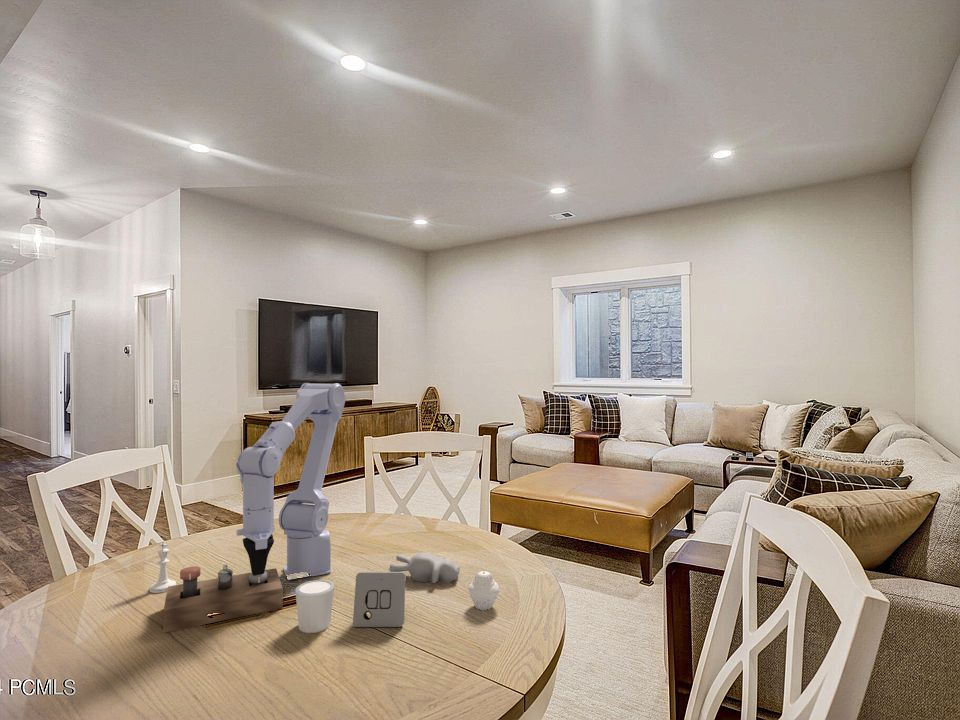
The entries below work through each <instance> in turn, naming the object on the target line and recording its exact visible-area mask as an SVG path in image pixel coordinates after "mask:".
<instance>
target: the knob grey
mask: <svg viewBox="0 0 960 720" xmlns="http://www.w3.org/2000/svg"><path fill="white" fill-rule="evenodd" d="M249 573H250V574H249V582H251V583H252V586H254V585H259V584H265V580H267V571H265V572H264V574H260V575H255V576H253V575H252V571H251V572H249Z"/></svg>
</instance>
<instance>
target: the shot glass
mask: <svg viewBox="0 0 960 720" xmlns="http://www.w3.org/2000/svg"><path fill="white" fill-rule="evenodd" d="M334 589H335V583H334V582H332V581H330V580H328V579H327V580H326V579H315V580H309V581H305V582H303V583H301V584H298V586H296V587H295V592H294V593H295V600H296V609H297V610H296V613H297V623H298V624H297V625H298V629H299V631H300V632H302V633H306V634H309V633H310V634H313V633H319V632H322V631H325V630H326V629H328V628H329V627H330V626H331V621H332V612H333V601H334V594H335V593H334V592H335V590H334Z"/></svg>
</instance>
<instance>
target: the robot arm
mask: <svg viewBox="0 0 960 720" xmlns="http://www.w3.org/2000/svg"><path fill="white" fill-rule="evenodd" d="M346 399H347V397H346V394H345V391H344V388H343V386H342V385H341V384H340V383H337V382H336V383H335V382H334V383H310V382H304V383H303V384H301V386H300V388H298V390H297V391H296V400H295V402H294V403H293V404H292V405H291V407H290V408H289V410H288V412H286V414H285V416H284V417H283V418H282V420H280V421H274V422H271V423H270V425H268V428H267V430H266V431H264V433H263V434H262V435H261V436H260V437H259V439H258V440H257V441H256V442H255V443H254V445H252V446H249V447H246V448H244V450H242V451H241V452H240V454H239V456H238V458H237V462H236V463H235V468H236V470H237V472H238V474H239V477H240V479H239V480H240V483H241V484H242V528H240V529H237V530H236V531H235V532H236V536H237V537H239V536H243V537H244V538H242V545H243V547H244V550H246V552H247V556H248V559H249V566H250V570H251V572H252V575H253V576H255V575H260V574H264V572H265V570H266V567H267V562H268V558H269V555H270V552H271V549H272V547H273V545H274V543H275V539H274V535H273V533H274V532H275V530H276V529H275V527H276V526H275V524H274V523H275V521H274V516H275V515H274V513H275V511H274V507H275V506H274V505H275V504H274V501H275V499H274V497H275V496H274V495H275V494H274V491H275V489H274V486H275V484H274V483H275V478H274V476H275V474H277V473H278V471H279V470H280V467H281V463H282V460H283V457H284V455H283V454H285V452H286V451H287V449H289V447H290V445H292V443H293V441H294V440H295V439H296V429H297V428H299V427H300V426H301V425H302V424H303V422H304V421H305V420H307V418H308V419H309V420H310V421H312V422H313V424H314V427H313V430H312V433H311V438H310V441H309V442H310V443H309V445H308V448H307V449H308V450H307V453H306V457H305V460H304V465H303V468H302V473H301V475H300V481H299V484H298V487H297V489H296V490H294V491H292V492H291V493H290V494H288V495H287V496H286V498H285V502H284V504H283V506H282V507H281V509H280V510H279V513H278V525H279V527H280V528H281V529H282V530H283V534H284V535H286V565H284V566H283V568H282V569H283V572H284V574H285V576H286V575H290V574H294V573H300V572H307V573H308V574H310V575H311V576H312V577H315V576H321V575H327V574H331V573H332V570H331V547H332V546H331V536H330V532H329V530H328V529H325V528H326V527H327V526H328V522H329V506H330V501H329V500H328V499H327V496H325V495H324V494H323V493H322V489H323V486H324V481H325V476H326V472H327V468H328V465H329V460H330V457H331V451H332V448H333V443H334V440H335V435H336V432H337V426H338V423H339V421H340V420H342V415H343V411H344V407H345V403H346Z"/></svg>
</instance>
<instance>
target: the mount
mask: <svg viewBox="0 0 960 720" xmlns="http://www.w3.org/2000/svg"><path fill="white" fill-rule="evenodd" d="M265 571H267V580H265V584H259V585H254V586H252V583H251V582H249V574H250V573H251V572H247V573H245V572H244V573H240V574H235V575H233V576H232V587H231V588H230V589H227V590H218V577H216V578H210V579H205V580H200V581H199V580H197V596H193V597H188V598H183V583H181V584H176V585H174V586H169V587H168V589H167V591H166V596H165V601H164V605H163V617H162V619H163V621H162V622H163V630H162V631H163V634H165V633H169V632H174V631H179V630H183V629H188V628H193V627H198V626H199V627H200V626H202V625H209V624H212V623H218V622H221V621H222V622H223V621H227V620H232V619H233V620H234V619H238V618H241V617H247V616H251V615H252V616H253V615H257V614H261V613H262V614H263V613H266V612H270V611H276V610H282V609H283V605H284V604H283V595H284V594H283V589H284V588H283V585H282V582H281V579H280V576H279V573H278V569H277V568H270V569H265ZM213 613H225V614H224V615H223V614H222V615H220V616H215V617H213V618H209V617H208V616H207V615H208V614H213Z"/></svg>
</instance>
